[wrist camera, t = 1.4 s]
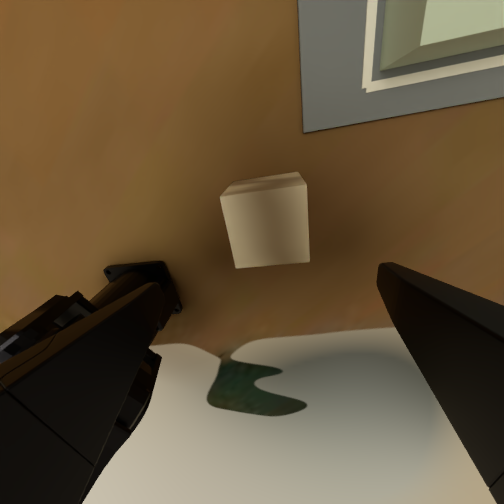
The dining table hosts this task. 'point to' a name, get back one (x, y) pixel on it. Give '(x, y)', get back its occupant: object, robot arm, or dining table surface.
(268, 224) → the birch cube
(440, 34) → the sage block
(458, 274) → the dining table surface
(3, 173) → the dining table surface
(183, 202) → the dining table surface
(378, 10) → the slate mat
